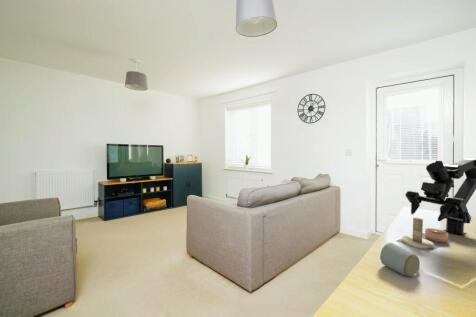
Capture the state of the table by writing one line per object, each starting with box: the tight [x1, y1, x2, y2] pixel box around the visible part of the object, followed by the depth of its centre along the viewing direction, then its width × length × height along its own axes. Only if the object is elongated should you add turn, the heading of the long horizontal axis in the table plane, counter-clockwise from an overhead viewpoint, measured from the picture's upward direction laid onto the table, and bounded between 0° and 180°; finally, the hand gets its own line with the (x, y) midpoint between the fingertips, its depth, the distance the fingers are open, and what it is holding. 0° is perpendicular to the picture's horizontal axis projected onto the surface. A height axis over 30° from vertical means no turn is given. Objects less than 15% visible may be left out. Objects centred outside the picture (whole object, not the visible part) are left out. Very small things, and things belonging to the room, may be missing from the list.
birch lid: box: [401, 217, 434, 250], centre depth 89 cm, size 10×10×10 cm
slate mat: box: [396, 232, 453, 253], centre depth 92 cm, size 20×11×1 cm, turn 117°
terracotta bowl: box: [424, 227, 449, 243], centre depth 93 cm, size 7×7×4 cm
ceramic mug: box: [379, 242, 421, 278], centre depth 71 cm, size 11×8×8 cm
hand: (424, 217), depth 91 cm, fingers open, 9 cm apart
